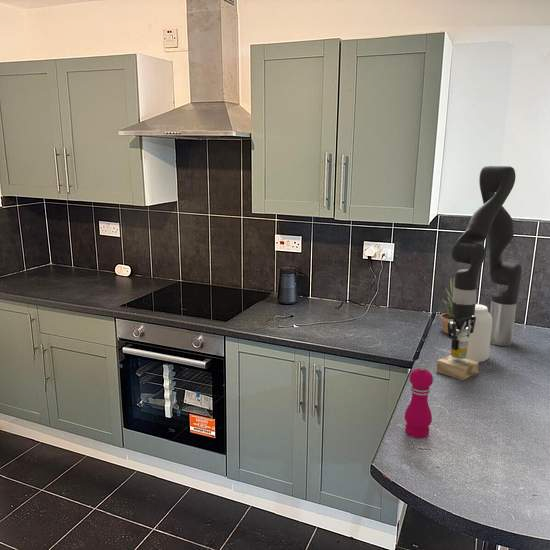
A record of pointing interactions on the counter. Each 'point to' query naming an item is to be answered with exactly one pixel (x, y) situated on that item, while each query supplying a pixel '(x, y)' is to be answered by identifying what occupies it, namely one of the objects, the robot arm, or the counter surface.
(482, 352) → the white jar
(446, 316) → the potted plant
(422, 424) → the pepper mill
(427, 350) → the counter surface
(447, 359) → the pedestal
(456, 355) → the supplement bottle
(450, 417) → the counter surface
